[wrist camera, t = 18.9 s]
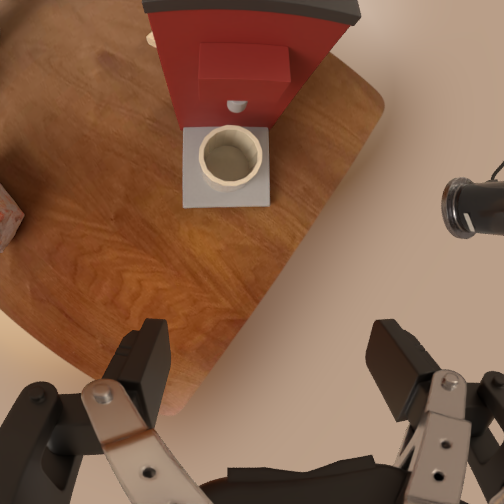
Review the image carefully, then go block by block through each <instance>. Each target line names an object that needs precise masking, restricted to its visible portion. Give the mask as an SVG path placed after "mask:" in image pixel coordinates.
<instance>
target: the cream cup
mask: <svg viewBox="0 0 504 504" xmlns="http://www.w3.org/2000/svg"><path fill="white" fill-rule="evenodd" d="M199 164H200V170H201V174H202V177H203V179H204V181H205V182H206V183H207V185H208V186H210V187H211V188H212V189H214V190H216V191H219V192H225V193H228V192H233V191H236V190H238V189H241V188H242V187H243V186H244V185H245V184H246V183H247V182H248V181H249V180H251V179H252V178H253V177H254V176H255V175H256V174H257V173H258V170H259V168H260V166H261V164H262V148H261V146H260V143H259V141H258V139H257V138H256V137H255V136H254V135H253V134H252V133H251V132H250V131H249V130H247V129H245V128H243V127H240V126H236V125H224V126H221V127H219V128H216V129H214V130H212V131H211V132H210V133H209V134H208V135H207V136H205V138H204V140H203V142H202V144H201V146H200V148H199Z"/></svg>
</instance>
